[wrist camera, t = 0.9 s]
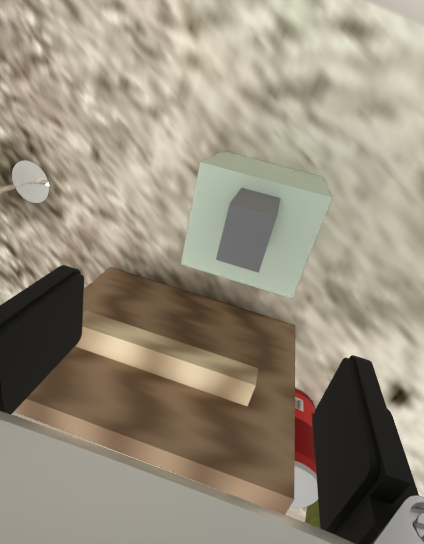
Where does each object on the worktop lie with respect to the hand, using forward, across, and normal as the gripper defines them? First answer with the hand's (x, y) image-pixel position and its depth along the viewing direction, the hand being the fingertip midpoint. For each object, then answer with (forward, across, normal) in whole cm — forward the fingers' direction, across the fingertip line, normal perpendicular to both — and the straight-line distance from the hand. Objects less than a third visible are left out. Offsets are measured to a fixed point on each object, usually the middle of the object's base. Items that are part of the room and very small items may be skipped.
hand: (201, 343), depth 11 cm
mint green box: (+25, 0, +1) cm, 25 cm away
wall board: (+25, +4, +17) cm, 30 cm away
